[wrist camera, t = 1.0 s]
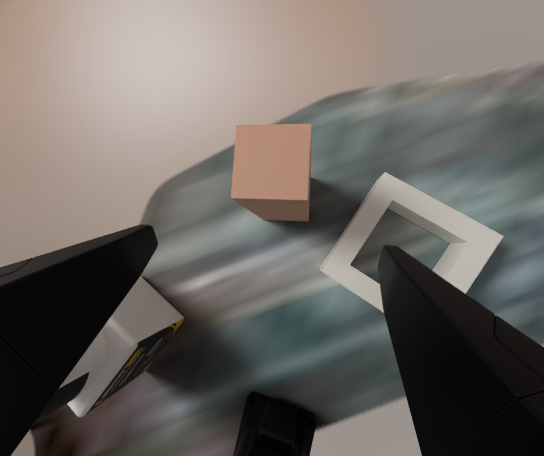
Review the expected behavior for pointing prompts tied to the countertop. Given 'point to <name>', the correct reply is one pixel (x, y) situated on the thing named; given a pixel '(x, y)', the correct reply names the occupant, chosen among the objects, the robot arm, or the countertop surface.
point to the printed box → (118, 350)
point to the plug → (273, 170)
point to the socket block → (425, 213)
